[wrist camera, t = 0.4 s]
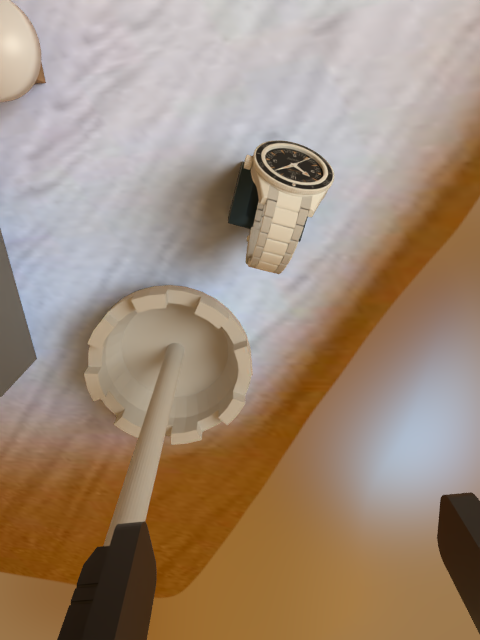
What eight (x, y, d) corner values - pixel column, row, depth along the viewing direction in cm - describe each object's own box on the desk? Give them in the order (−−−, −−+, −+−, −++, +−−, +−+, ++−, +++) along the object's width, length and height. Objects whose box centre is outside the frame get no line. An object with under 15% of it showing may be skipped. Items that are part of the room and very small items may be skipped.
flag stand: (111, 260, 37) (-278, 619, 9) (265, 292, 38) (360, 697, 10) (94, 395, 41) (-196, 920, 13) (232, 420, 42) (235, 948, 14)
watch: (318, 154, 34) (356, 156, 24) (288, 255, 37) (310, 295, 26) (247, 134, 33) (254, 127, 23) (221, 238, 36) (218, 273, 26)
